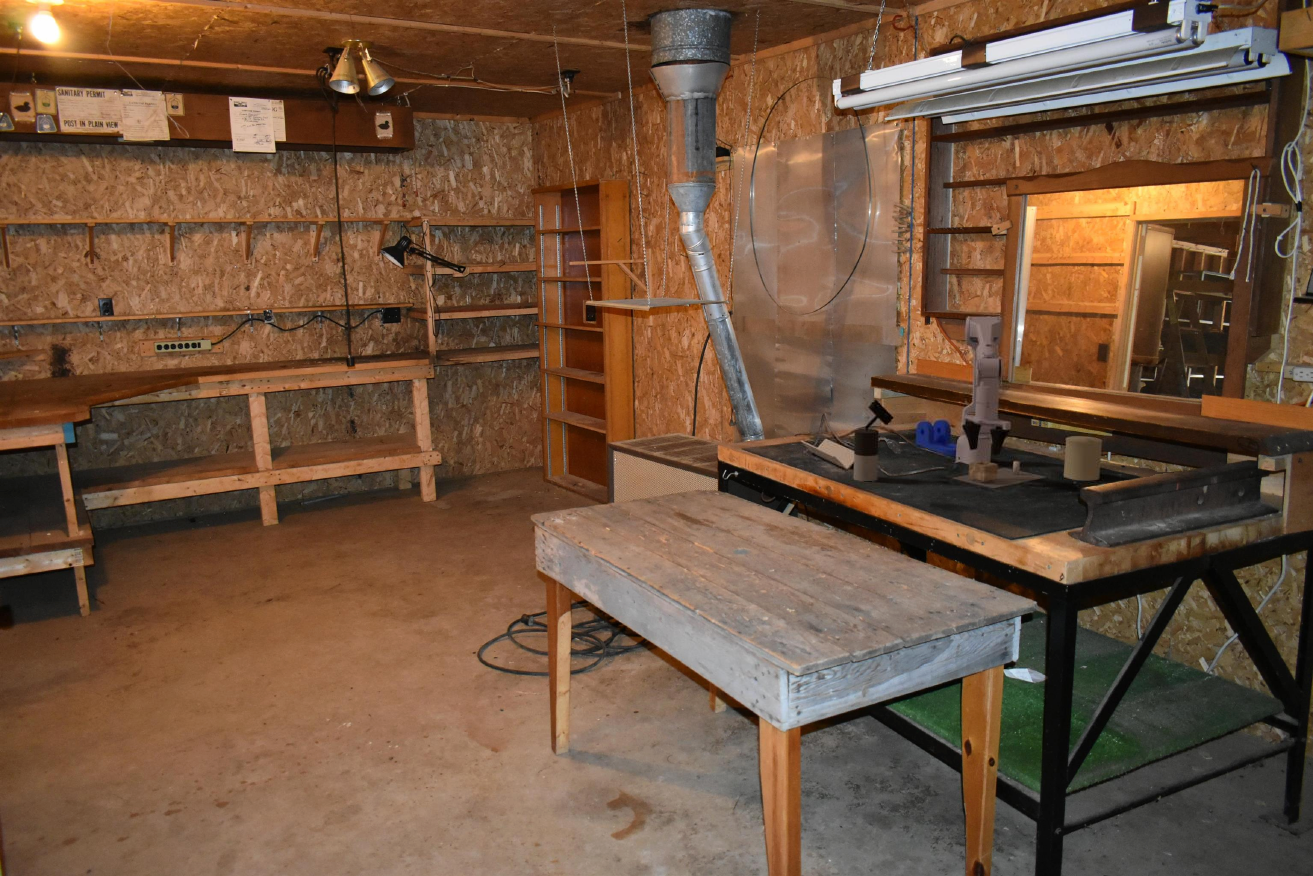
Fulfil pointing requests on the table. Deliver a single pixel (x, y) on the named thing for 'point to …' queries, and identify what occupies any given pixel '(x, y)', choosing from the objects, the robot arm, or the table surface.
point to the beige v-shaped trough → (833, 453)
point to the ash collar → (983, 470)
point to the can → (1082, 458)
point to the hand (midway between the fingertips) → (984, 451)
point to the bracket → (936, 437)
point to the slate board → (1001, 478)
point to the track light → (869, 445)
